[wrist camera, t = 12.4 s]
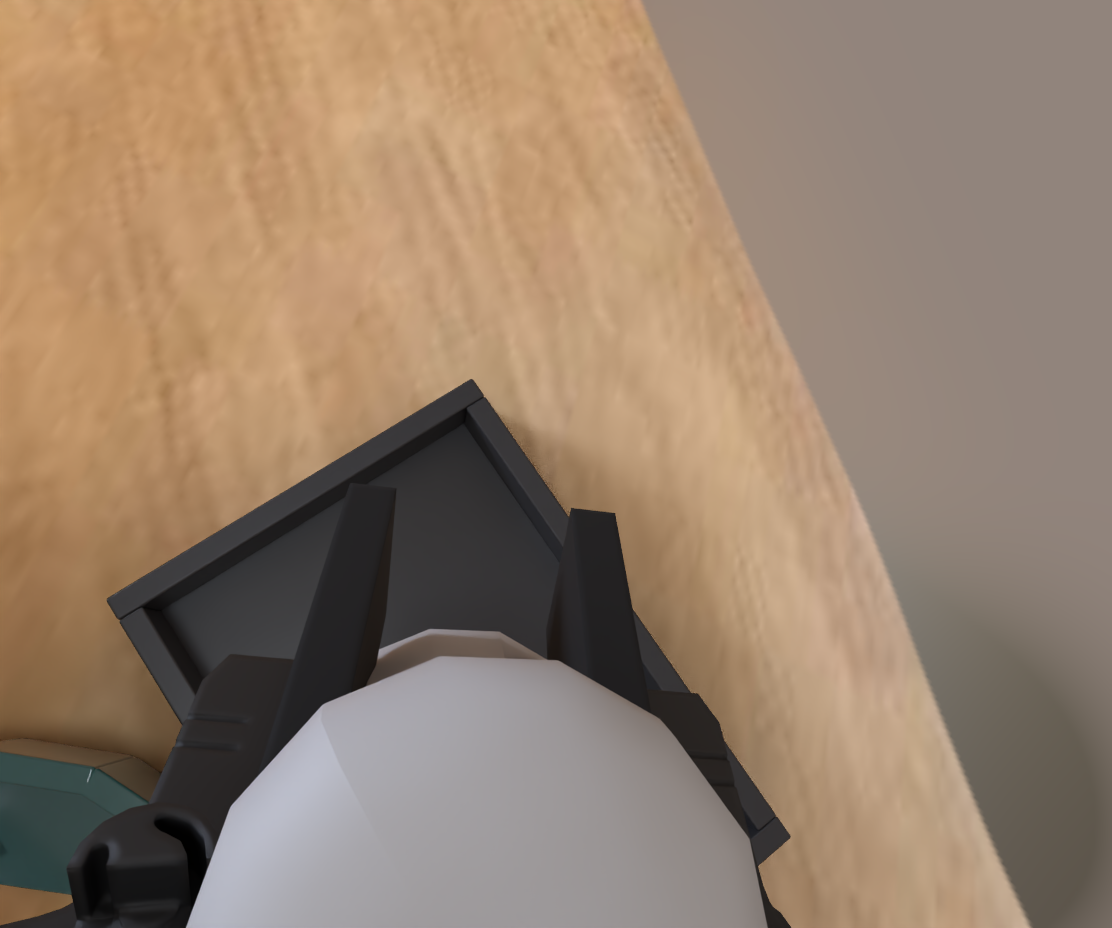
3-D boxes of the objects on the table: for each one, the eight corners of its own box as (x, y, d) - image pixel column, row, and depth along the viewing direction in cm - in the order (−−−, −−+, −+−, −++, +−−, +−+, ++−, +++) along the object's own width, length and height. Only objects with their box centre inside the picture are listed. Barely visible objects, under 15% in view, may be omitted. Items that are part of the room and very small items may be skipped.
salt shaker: (591, 642, 19) (913, 572, 6) (581, 927, 17) (976, 1565, 5) (321, 629, 18) (82, 515, 6) (289, 925, 17) (-136, 1677, 4)
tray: (132, 605, 28) (104, 599, 26) (468, 400, 32) (472, 377, 29) (436, 1101, 26) (437, 1146, 24) (761, 823, 30) (792, 837, 27)
